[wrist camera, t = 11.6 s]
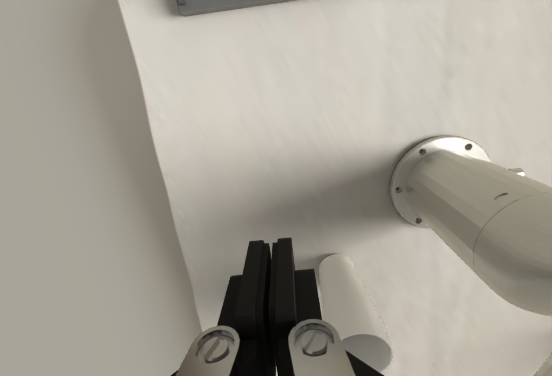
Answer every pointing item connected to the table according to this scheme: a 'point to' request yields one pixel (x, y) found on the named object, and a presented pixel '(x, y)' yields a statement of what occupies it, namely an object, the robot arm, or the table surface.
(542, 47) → the table surface
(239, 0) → the fader board
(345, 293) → the drinking glass
